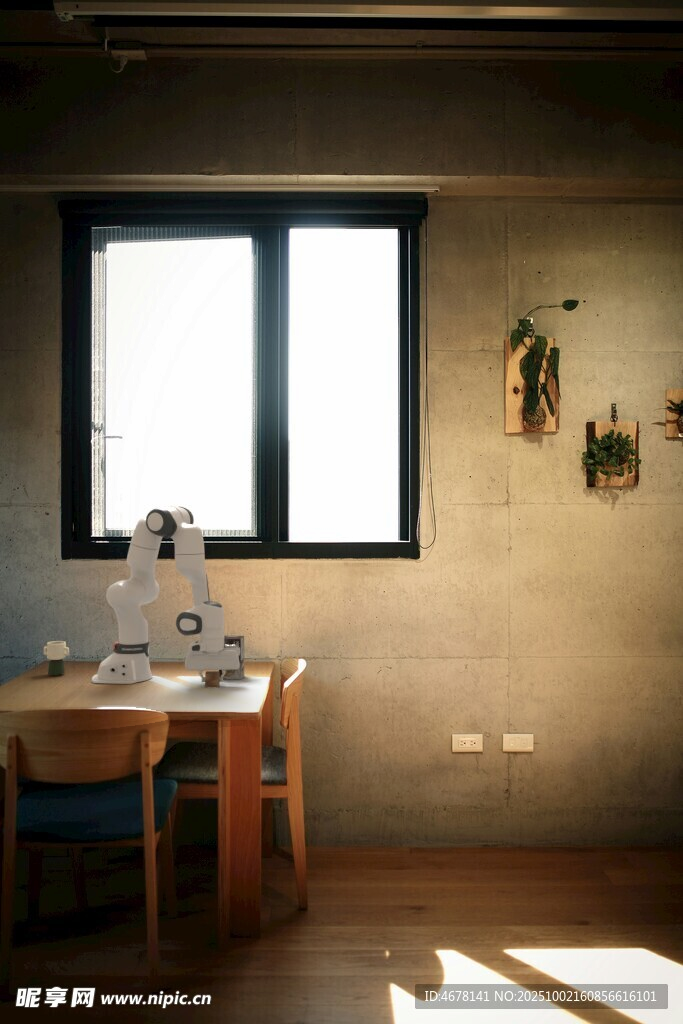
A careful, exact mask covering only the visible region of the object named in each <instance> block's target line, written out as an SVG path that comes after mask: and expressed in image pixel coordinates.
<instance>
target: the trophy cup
mask: <svg viewBox="0 0 683 1024" xmlns="http://www.w3.org/2000/svg"><path fill="white" fill-rule="evenodd" d="M66 642H67V641H63V640H54V641H48V642H46V645H45V646H44V647H43V655H45V656H46V657H47V658H46V659H47V660H50V661H49V662H48V670H47V674H48V675H50V676H61V675H62V674H66V670H65V669H66V668H65V663H64V662H65V661H64V660H63V659H65V658H66V657H67V656H70V648H69V647H68V646H67V643H66Z"/></svg>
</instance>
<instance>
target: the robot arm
mask: <svg viewBox="0 0 683 1024" xmlns="http://www.w3.org/2000/svg"><path fill="white" fill-rule="evenodd" d="M194 521H195V520H194V515H193V513H192V511H190V509H188V508H186V507H184V506H174V505H173V506H172V505H169V506H164V507H155V508H153V509H152V510H150V511H149V512H148V513H147V515H146V516H145V517H142V518H140V519H139V520H138V521H137V524H136V526H135V528H134V530H133V534H132V537H131V540H130V545H129V547H128V551H127V557H126V564H127V566H129V569H130V571H129V572H130V576H129V578H128V579H122V580H118V581H116V582H114V583H113V584H111V585H110V586H108V588H107V590H106V592H105V596H106V601H107V603H108V604H109V606H110V607H111V608H113V610H114V613H115V615H116V618H117V624H118V626H117V627H118V641H115V642H113V647H112V649H113V652H112V653H111V654H110V655H109V656H107V657H106V658H105V659H104V660H102V661H101V662H100V664H99V666H98V671H97V673H96V674H94V675H93V676H92V677H91V683H93V684H118V685H119V684H120V685H121V684H122V685H126V684H127V685H132V684H136V683H139V682H144V681H148V680H150V679H152V678H153V675H152V671H151V666H150V658H149V656H150V641H149V622H148V620H147V619H146V618H145V617H144V615H143V612H142V608H141V606H144V605H145V606H146V605H148V604H150V603H152V602H153V601H155V600H156V599H158V598H159V595H160V586H159V583H158V582H157V580H156V566H157V565H156V564H157V561H158V555H159V551H160V547H161V543H162V540H163V539H164V538H165V539H166V540H167V539H172V540H173V543H174V562H175V564H174V565H175V567H176V571H177V572H178V574H180V576H181V577H183V578H185V579H187V580H188V582H189V583H190V585H191V590H192V591H191V592H192V601H193V606H192V608H190V609H187V610H184V611H182V612H180V613H179V614H178V615H177V617H176V619H175V625H176V629H177V631H178V632H179V633H180V634H181V635H183V636H185V637H186V636H187V637H188V636H195V635H199V636H200V639H199V640H197V641H196V640H195V641H193V642H191V643H190V644H189V645H188V650H187V652H186V657H185V661H184V669H185V670H186V671H198V675H199V676H200V678H201V683H205V676H204V675H203V671H219V670H222V673H223V674H222V676H219V683H220V682H224V679H223V677H224V675H225V673H226V670H237V669H238V668H239V655H240V647H239V646H236V645H224V636H225V634H224V628H225V612H224V611H225V610H224V606H223V605H222V604H221V603H220V602H217V601H212V600H211V599H210V590H209V588H210V587H209V581H208V574H207V571H206V559H205V558H206V557H205V543H204V536H203V531H202V529H201V528H200V527H199V526H198V525H195V524H194ZM224 647H225V649H224ZM230 647H231V648H230Z"/></svg>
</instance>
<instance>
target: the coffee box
mask: <svg viewBox="0 0 683 1024" xmlns="http://www.w3.org/2000/svg"><path fill="white" fill-rule="evenodd" d="M224 645H236V646H239V647H240V655H239V668H238V669H237V670H226V673H225V675H224V677H223V678H226V679H225V680H242V679H243V678H244V677H245V635H224ZM230 648H231V647H230ZM224 649H225V647H224ZM218 671H219V676H222V674H223V673H222V670H218Z"/></svg>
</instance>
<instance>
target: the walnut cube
mask: <svg viewBox="0 0 683 1024" xmlns="http://www.w3.org/2000/svg"><path fill="white" fill-rule="evenodd" d="M204 675H205V676H204V677H205V682H204V686H205V687H216V688H219V687H220V682H219V670H205V673H204ZM205 687H204V688H205Z"/></svg>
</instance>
